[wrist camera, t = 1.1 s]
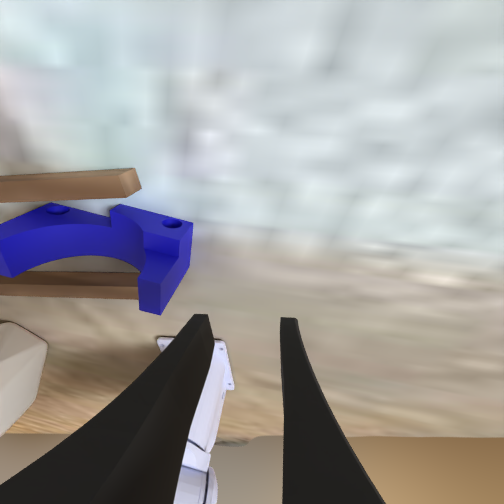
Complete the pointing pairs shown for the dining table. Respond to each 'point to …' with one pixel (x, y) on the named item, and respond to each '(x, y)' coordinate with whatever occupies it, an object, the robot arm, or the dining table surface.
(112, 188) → the guide
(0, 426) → the vase
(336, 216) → the dining table surface
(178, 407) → the robot arm
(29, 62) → the dining table surface
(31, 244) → the cable clip
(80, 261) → the dining table surface
